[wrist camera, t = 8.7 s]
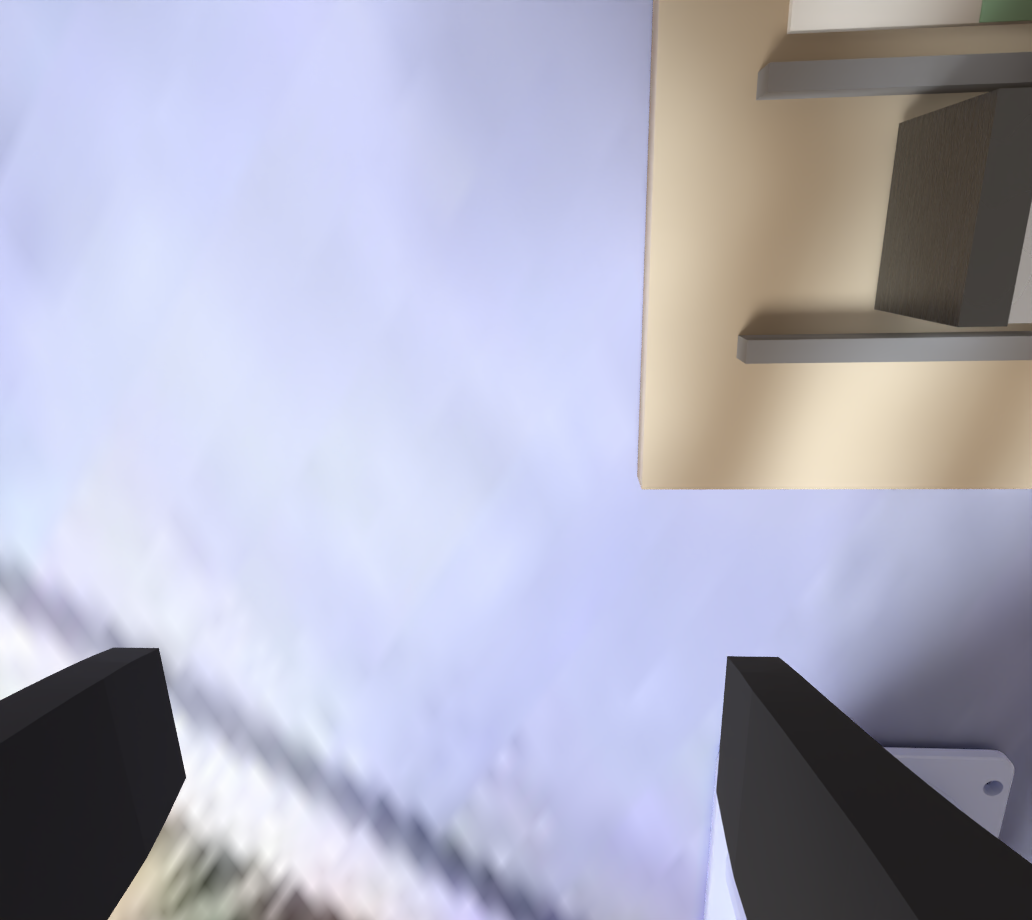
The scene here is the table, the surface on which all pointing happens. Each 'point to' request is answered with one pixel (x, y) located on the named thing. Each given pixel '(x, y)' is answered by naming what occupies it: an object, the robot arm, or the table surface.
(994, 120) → the block with upright rod
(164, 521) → the table surface
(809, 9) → the bench
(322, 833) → the table surface
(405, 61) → the table surface
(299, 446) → the table surface
